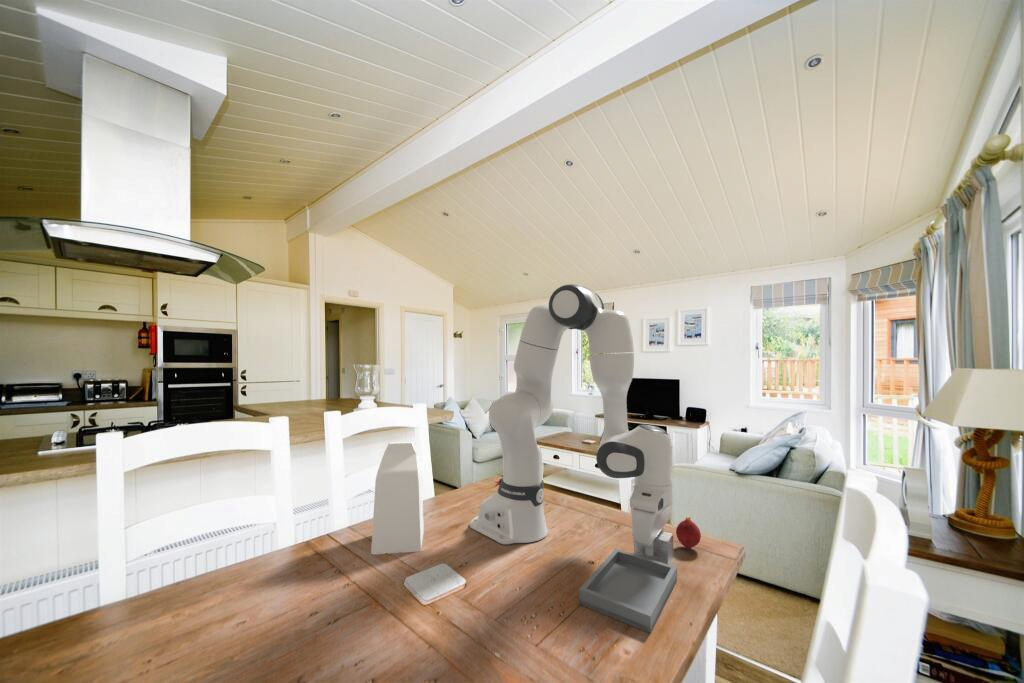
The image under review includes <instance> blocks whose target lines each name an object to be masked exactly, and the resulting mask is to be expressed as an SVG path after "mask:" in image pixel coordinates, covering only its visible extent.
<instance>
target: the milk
mask: <svg viewBox="0 0 1024 683" xmlns="http://www.w3.org/2000/svg"><path fill="white" fill-rule="evenodd" d="M418 455H419V454H418V453H417V450H416V448H415V446H414V444H413V441H401V442H400V441H397V442H389V443H388V444H387V446H386V448H385V450H384V453H383V455H382V457H381V461H380V463H379V467H378V469H377V473H376V477H375V482H374V483H375V484H374V486H375V487H374V500H373V516H372V530H371V532H372V534H371V536H372V537H371V551H370V555H371V554H373V555H383V554H384V555H386V554H385V553H388V554H400V553H399V552H402V553H415V552H416V553H417V552H422V546H423V539H424V533H425V532H424V531H425V529H424V528H425V526H424V524H425V522H424V503H423V502H424V500H423V498H424V497H423V479H422V478H423V475H422V474H423V473H422V472H423V471H422V463H421V461H420V458H419V456H418Z"/></svg>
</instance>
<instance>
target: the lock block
mask: <svg viewBox="0 0 1024 683" xmlns="http://www.w3.org/2000/svg"><path fill="white" fill-rule="evenodd" d="M653 547H654V554H653V556H648V555H646V554H645V546H644V545H640V544H637V543H635V541H634V540H633V554H635V555H638V556H641V557H645V558H648V559H651V560H655V561H658V562H661V563H665V564H668V565H671V564H672V562H673V559H674V533H671V532H667V531H664V530H663V531H660V533H659V534H658V535H657V537H656V538H655V539H654V542H653Z"/></svg>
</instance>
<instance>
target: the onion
mask: <svg viewBox="0 0 1024 683" xmlns="http://www.w3.org/2000/svg"><path fill="white" fill-rule="evenodd" d="M675 530H676V531H675V534H676V535H675V536H676V538H677V540H678V541H679V543H680V544H681V545H682V546H683V547H685V548H686V549H688V550H689V549H692V548H694V547H696V546H697V545H699V543H700V541H701V537H702V535H701V534H702V533H701V531H700V528H699V526H697V524H696V523H695V522H693V521H692V520H691V516H686V517H685V519H684V520H682V521H680V522H679V523H678V525H677V527H676V529H675Z"/></svg>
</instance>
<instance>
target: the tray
mask: <svg viewBox="0 0 1024 683" xmlns="http://www.w3.org/2000/svg"><path fill="white" fill-rule="evenodd" d="M677 582H678V568H677V566H674V565H672V564H670V565H668V564H665V563H661V562H658V561H655V560H651V559H648V558H645V557H641V556H638V555H635V554H634V553H632V552H628V551H624V550H622V549H618V548H615V549H614V550H613V551H612V552H611V553H610V554H609V555H608V557H607V558H606V559H604V561H603V562H602V563H601V564H599V567H597V569H596V570H595V571H594V572H593V573H592V574H591V575H590V577H589V578H588V579H586V581H585V582H584V583H583V584H582V586H581V587H580V588H579V589H578V590H579V592H578V593H579V594H578V595H579V596H578V599H579V600H578V605H580V606H581V607H584V608H587V609H590V610H592V611H594V612H596V613H599V614H602V615H604V616H607V617H610V618H612V619H614V620H616V621H619V622H622V623H623V624H627V625H629V626H630V627H634V628H637V629H639V630H642V631H644V632H647V633H649V634H651V633H652V631H653V630H654V627H655V626H656V624H657V622H658V620H659V617H660V615H661V613H662V612H663V609H664V608H665V607H666V603H667V602H668V600H669V597H670V596H671V593H672V591H673V589H674V588H675V586H676V584H677Z"/></svg>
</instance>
